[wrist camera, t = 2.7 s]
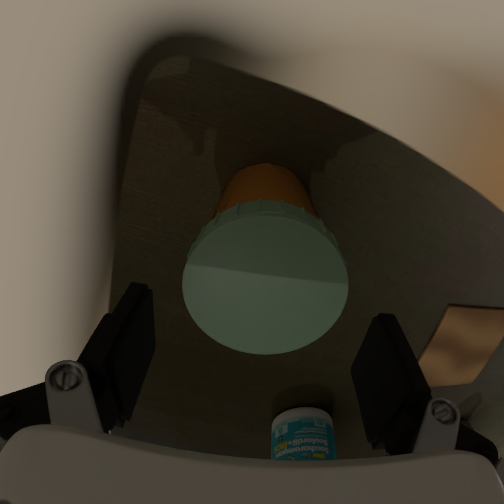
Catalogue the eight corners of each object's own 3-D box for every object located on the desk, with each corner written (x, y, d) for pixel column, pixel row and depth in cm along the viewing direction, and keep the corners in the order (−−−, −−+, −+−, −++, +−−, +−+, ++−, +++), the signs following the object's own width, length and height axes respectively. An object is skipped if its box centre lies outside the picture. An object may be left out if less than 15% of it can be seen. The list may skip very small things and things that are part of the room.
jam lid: (211, 177, 13) (202, 189, 11) (365, 228, 13) (378, 247, 12) (177, 308, 16) (168, 332, 14) (305, 342, 17) (309, 368, 15)
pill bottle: (327, 398, 33) (341, 504, 21) (334, 428, 36) (345, 519, 24) (263, 410, 34) (261, 514, 22) (278, 438, 37) (279, 527, 25)
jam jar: (235, 151, 21) (210, 195, 12) (322, 180, 22) (365, 246, 12) (211, 232, 24) (178, 322, 14) (291, 256, 25) (305, 355, 15)
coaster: (448, 304, 26) (449, 306, 26) (516, 309, 27) (518, 311, 26) (401, 385, 32) (402, 388, 31) (471, 380, 32) (472, 383, 32)
